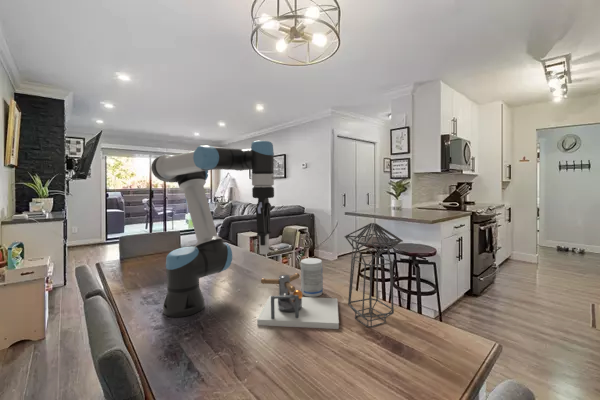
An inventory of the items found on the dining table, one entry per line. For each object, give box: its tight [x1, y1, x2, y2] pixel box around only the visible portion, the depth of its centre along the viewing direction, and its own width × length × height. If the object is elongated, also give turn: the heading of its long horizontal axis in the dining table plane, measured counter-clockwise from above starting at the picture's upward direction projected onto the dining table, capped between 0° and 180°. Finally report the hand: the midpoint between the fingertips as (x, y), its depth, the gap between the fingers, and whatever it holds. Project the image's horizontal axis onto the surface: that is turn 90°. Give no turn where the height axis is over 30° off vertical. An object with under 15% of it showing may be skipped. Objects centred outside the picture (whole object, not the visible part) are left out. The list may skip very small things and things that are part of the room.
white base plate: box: [256, 293, 340, 330], centre depth 106 cm, size 28×20×10 cm
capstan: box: [260, 272, 303, 313], centre depth 107 cm, size 16×16×12 cm
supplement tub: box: [300, 257, 324, 298], centre depth 125 cm, size 10×10×15 cm
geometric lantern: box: [343, 222, 404, 328], centre depth 101 cm, size 16×16×35 cm
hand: (264, 252), depth 100 cm, fingers open, 2 cm apart
